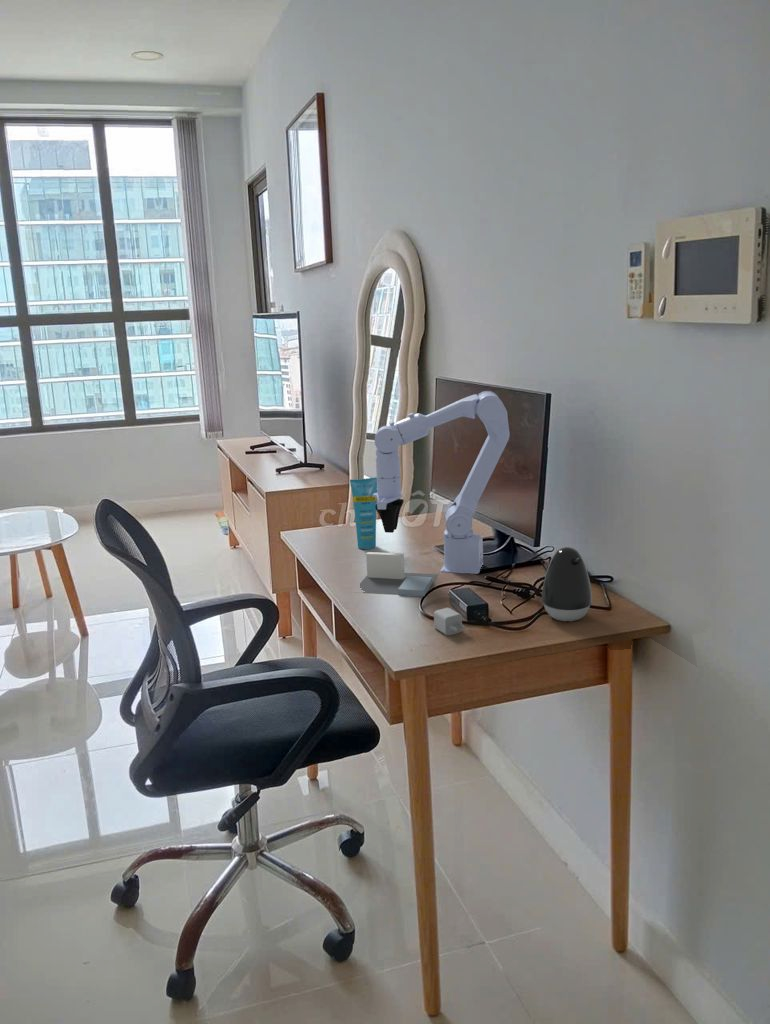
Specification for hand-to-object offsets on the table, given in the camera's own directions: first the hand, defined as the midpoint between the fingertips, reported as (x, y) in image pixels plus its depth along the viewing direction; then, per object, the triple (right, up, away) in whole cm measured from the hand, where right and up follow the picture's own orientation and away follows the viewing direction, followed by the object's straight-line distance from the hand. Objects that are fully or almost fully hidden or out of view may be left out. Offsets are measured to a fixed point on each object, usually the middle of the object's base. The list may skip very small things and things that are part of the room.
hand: (390, 530), depth 208 cm
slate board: (+6, -13, -11) cm, 18 cm away
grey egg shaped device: (+37, -18, -31) cm, 51 cm away
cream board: (-1, -11, -3) cm, 12 cm away
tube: (-6, -5, +23) cm, 24 cm away
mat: (+1, -13, -7) cm, 15 cm away
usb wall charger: (+12, -20, -36) cm, 43 cm away
